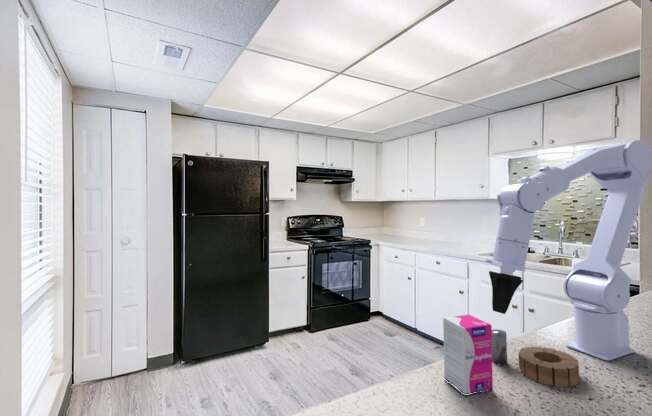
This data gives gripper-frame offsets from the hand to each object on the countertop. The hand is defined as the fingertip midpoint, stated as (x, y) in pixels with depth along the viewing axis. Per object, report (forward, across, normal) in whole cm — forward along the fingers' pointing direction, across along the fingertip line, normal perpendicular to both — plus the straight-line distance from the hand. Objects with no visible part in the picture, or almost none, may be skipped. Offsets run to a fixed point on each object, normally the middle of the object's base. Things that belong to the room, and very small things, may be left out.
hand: (499, 309), depth 64 cm
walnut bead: (+9, -1, +10) cm, 13 cm away
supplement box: (+13, +9, -2) cm, 16 cm away
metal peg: (+10, -2, +2) cm, 11 cm away
